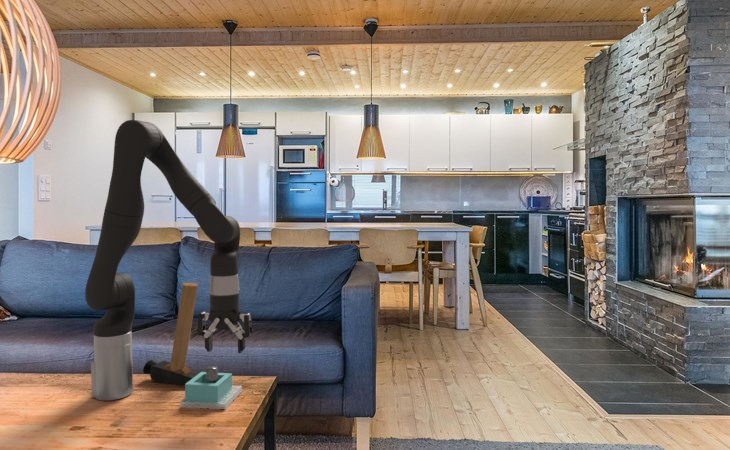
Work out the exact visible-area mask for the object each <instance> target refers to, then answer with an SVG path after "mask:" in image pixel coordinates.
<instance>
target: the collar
mask: <svg viewBox="0 0 730 450" xmlns="http://www.w3.org/2000/svg"><path fill="white" fill-rule="evenodd" d="M199 372H200V373H199V374H198V375H196V376H195V377H194V378H192V379H191V380H190V381H188V382H187V383H186V384H185V386H184V398H185V399H191V400H207V401H219V400H220V399H221V398H222V397H223V396H224V395H225V394H226V393H227V392H228V391H229V390H230V389H231V388H232V385H233V373H230V372H228V373H226V372H218V381H217V382H216V383H215V384H214V383H206V371H199Z"/></svg>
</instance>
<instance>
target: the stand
mask: <svg viewBox="0 0 730 450" xmlns="http://www.w3.org/2000/svg"><path fill="white" fill-rule="evenodd" d="M205 370H206V371H205V372H206V383H214V384H215V383H216V382H217V381H218V373H219V366H216V365H210V366H207V367H206V368H205ZM242 392H243V385H233V384H232V388H231V389H230V390H229V391H228V392H227V393H226V394H225V395H224V396H223V397H222V398H221V399H220V400H219V401H207V400H191V399H185V397H184V398H183V399H182V400H181V401H179V403H180V404H179V407H181V408H183V409H185V408H186V409H188V408H189V409H200V408H209V409H208V410H220V409H224V410H225V411H226V409H228V407H229V406H230V405H231V404H232V403H233V402H234V401H235V400H236V398H237V397H238V396H239V395H240V394H241V393H242ZM233 400H234V401H233ZM224 410H223V411H224Z"/></svg>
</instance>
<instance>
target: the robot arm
mask: <svg viewBox="0 0 730 450" xmlns="http://www.w3.org/2000/svg"><path fill="white" fill-rule="evenodd" d="M145 159H147V160H148V161H150V162H151V163H152V164H153V165H154V166H155V167H156V168H157V169H158V170H159V171H160V172H161V174H163V176H164V177H165V179H166V181H167V183H168V186H169V187H170V190H171V191H172V193H173V194H174V196H175V198H176V199H177V200H178V201H179V202H180V204H181V205H183V207H184V208H185V209H186V210H187V211H188V212H189V213H190V215H192V216H193V217H194V219H195V221H196V222H197V224H198V225H199V227H200V228H201V230H202V232H203V233H204V234H205V235H206V237H208V239H209V240H210V241H212V242H214V246H213V253H212V254H211V255H210V261H209V264H210V271H209V272H210V278H209V309H210V312H207V311H201V312H200V313H198V315H197V330H196V331H197V335H198V336H199V337H200V336H202V337H203V338H204V349H205V350H206V352H207V353H211V352H212V351H213V349H214V347H213V344H214V343H213V342H214V341H213V340H214V339H213V336H212V335H213V333H214V332H215V331H216V330H218V331H222V330H225V331H232V333H233V334H235V335H236V336H237V338H238V339H237V353H238V354H242V353H243V352H244V350H245V349H246V338H249V337H250V336H252V335H253V334H254V333H253V318H252V313H250V312H247V313H241V312H240V280H239V260H238V256H239V255H238V254H239V248H240V241H241V229H240V223H239V222H238V220H237V219H235V218H234V217H232V216H231V215H225V214H224V213H223V212H222V211H221V210H220V209H219V207H218V206H217V202H216V200H215V198H214V197H213V195H211V193H210V192H209V191H208V190H207V189H206V188H205V186H203V184H201V182H199V180H198V179H197V178H196V177H195V176H194V174H192V173H191V171H190V170H189V168H187V166H186V165H185V164H184V163H183V161H182V160H181V158H180V157H179V156H178V154H177V153H176V151H175V150H174V148H173V146H171V143H170V142H169V140H168V139H167V137H166V136H165V134H164V133H163V132H162V130H161V129H160V128H159V126H157V124H154V123H152V122H149V121H145V120H144V121H142V120H138V119H137V120H136V119H129V120H124V122H123V123H121V124H120V125H119V126H118V129H117V130H116V132H115V138H114V147H113V161H112V162H113V163H112V171H111V177H110V181H109V188H108V193H107V198H106V202H105V207H104V210H103V211H104V213H103V216H102V222H101V230H100V234H99V239H98V243H97V247H96V252H95V256H94V259H93V261H92V262H93V263H92V265H91V269H90V270H89V271H90V272H89V274H88V277H87V281H86V285H85V289H84V290H85V291H84V292H85V293H84V298H85V302H86V305H87V306H88V307H89V309H91V310H92V311H96V312H101V311H103V312H104V311H106V312H104V315H102V317H101V318H100V319H98V320H97V321H96V322H95V323H94V325H93V351H94V353H93V354H94V357H93V359H94V360H93V361H92V362H91V363H90V373H91V374H90V375H91V377H90V379H91V398H94V399H96V400H99V401H114V400H119V399H123V398H126V397H127V396H131V394H133V392H134V374H133V372H134V371H133V368H134V367H133V338H132V337H133V333H132V332H133V331H132V329H133V327H132V326H133V322H134V320H135V315H136V314H135V310H136V309H135V308H136V288H135V283H134V281H133V279H132V277H131V276H130V275H129V274H127V273H125V272H118V268H119V265H120V263H121V260H122V259H123V257H124V256H125V254H126V253H127V252H128V250H129V249H130V248H131V246H132V245H133V243H134V242H135V241H136V239H137V237H138V236H139V234H140V232H141V228H142V224H143V218H144V214H145V201H144V199H145V198H144V195H143V190H142V182H141V181H142V180H141V179H142V170H143V166H144V163H145ZM208 319H209V320H210V322H211V324H210V326H209V327H208V329H207V328H206V327H207V320H208ZM240 320H241V322H243V326H244V329H243V327H242V325H241V324H240V322H239V321H240Z"/></svg>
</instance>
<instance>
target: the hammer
mask: <svg viewBox="0 0 730 450" xmlns="http://www.w3.org/2000/svg"><path fill="white" fill-rule="evenodd" d="M198 286H199V284H198V283H197V282H183V283H182V286H181V293H180V299H179V307H178V311H177V312H178V313H177V320H176V326H175V331H174V333H175V334H174V340H173V346H172V352H171V358H170V362H169V361H166V360H162V361H159V362H155V361H154V360H153V359H150V360H148V361H146V363H145V364H144V366H143V367H142V368H143V369H142V372H143V374H145V375H149V376H150V377H149V378H150V380H152V381H155V382H159V383H162V384H165V385H169V386H170V385H171V386H179V387H185V384H186V383H187V382H188V381H190V380H191V379H192V378H194V377H195V376H196V375H198V374H199V373H200V372H201V371H198V370H195V369H192V368H189V367H188V366H186V365H187V357H188V351H189V345H190V338H191V332H192V331H191V330H192V324H193V317H194V313H195V304H196V299H197V292H198Z"/></svg>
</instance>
